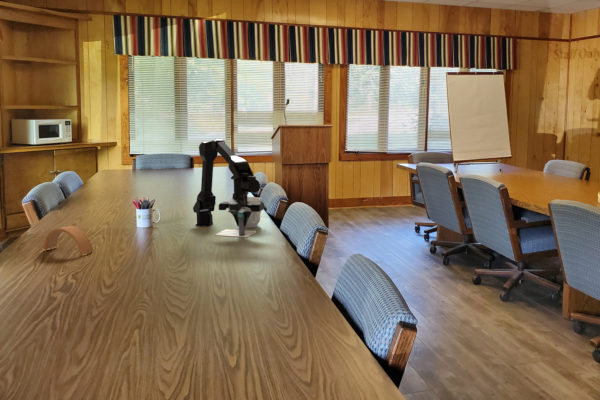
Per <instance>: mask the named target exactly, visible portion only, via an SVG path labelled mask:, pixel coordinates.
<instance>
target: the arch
mask: <svg viewBox="0 0 600 400" xmlns="http://www.w3.org/2000/svg"><path fill="white" fill-rule="evenodd" d="M62 233H66V234H68V235H69V236H70V238H72V239H73V240H74V242H75V243H76V245H77V248H78V250H79V251H78V252H79V255H83V254H86V253H89V252H92V251H93V252H94V250H93V245H92V243H91V241H90V239H89V237H88V235H87V234H86V233H85V232H84V231H83V230H82V229H81V228H79V227H77V226H75V225H66V226H62V227H60V228H55V229H53V230H51V231H50V232H49V233H47V235H46V237H45V240H44V244H43V250H44V249H47V248H51V247H55V246H57V247H58V240H59V237H60V235H61V234H62Z"/></svg>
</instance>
